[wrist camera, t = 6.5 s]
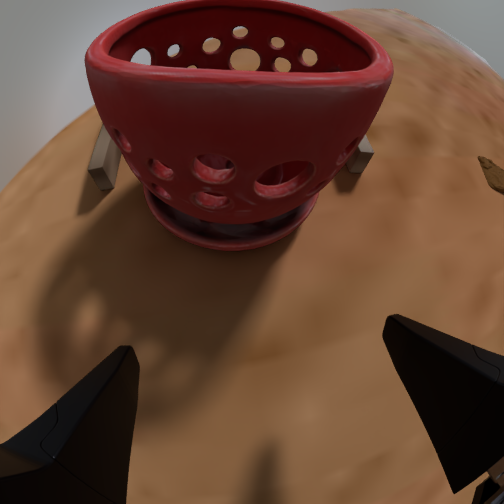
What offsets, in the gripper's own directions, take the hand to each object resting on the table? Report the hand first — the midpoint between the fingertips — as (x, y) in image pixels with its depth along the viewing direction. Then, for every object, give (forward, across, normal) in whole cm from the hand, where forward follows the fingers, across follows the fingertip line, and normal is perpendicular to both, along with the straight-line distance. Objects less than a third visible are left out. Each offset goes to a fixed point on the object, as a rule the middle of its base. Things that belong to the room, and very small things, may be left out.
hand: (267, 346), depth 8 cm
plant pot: (+13, 0, -4) cm, 13 cm away
